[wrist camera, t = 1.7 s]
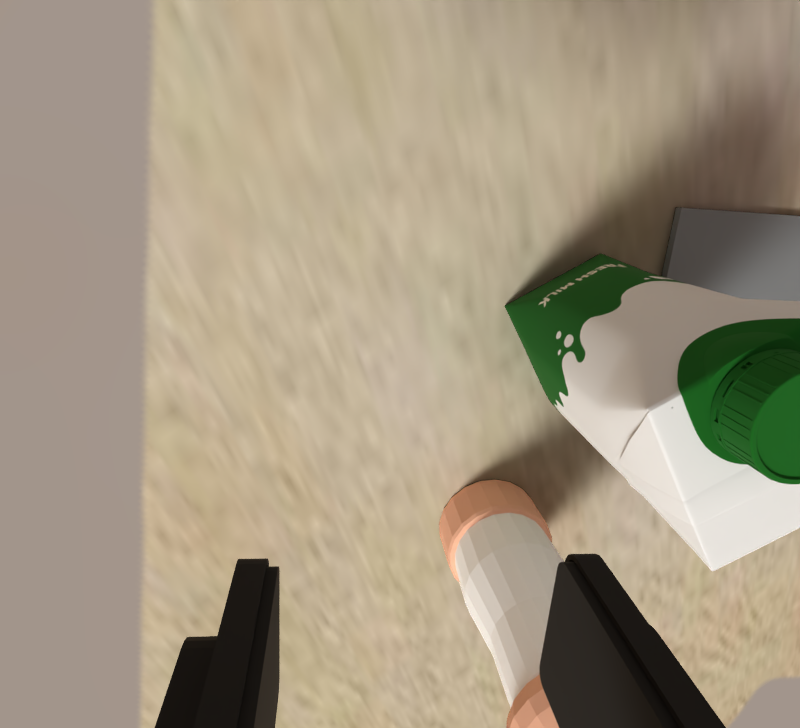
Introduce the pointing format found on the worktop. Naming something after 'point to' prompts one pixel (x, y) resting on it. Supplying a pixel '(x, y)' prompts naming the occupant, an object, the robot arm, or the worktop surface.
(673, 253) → the mat
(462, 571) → the pepper shaker
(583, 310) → the soya milk
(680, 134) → the worktop surface
